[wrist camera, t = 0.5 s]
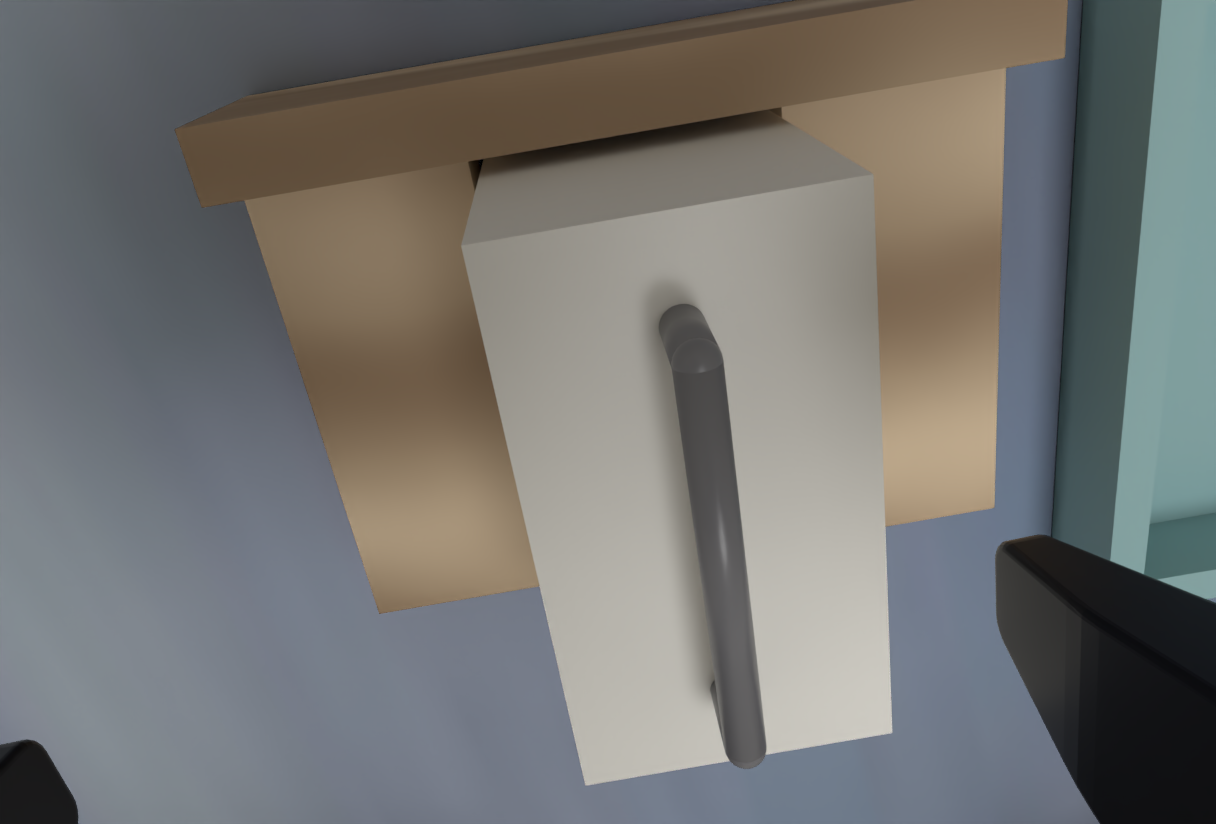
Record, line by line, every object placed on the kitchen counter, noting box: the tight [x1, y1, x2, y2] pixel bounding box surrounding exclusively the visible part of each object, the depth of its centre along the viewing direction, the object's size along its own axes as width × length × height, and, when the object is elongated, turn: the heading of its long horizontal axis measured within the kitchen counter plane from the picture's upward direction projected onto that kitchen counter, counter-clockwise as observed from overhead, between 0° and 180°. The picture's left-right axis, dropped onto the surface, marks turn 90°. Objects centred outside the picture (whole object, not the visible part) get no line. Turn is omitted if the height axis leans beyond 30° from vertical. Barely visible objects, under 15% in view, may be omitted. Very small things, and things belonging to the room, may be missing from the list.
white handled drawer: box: [461, 109, 892, 786], centre depth 16 cm, size 9×5×10 cm, turn 9°
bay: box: [175, 0, 1068, 614], centre depth 18 cm, size 11×14×4 cm
